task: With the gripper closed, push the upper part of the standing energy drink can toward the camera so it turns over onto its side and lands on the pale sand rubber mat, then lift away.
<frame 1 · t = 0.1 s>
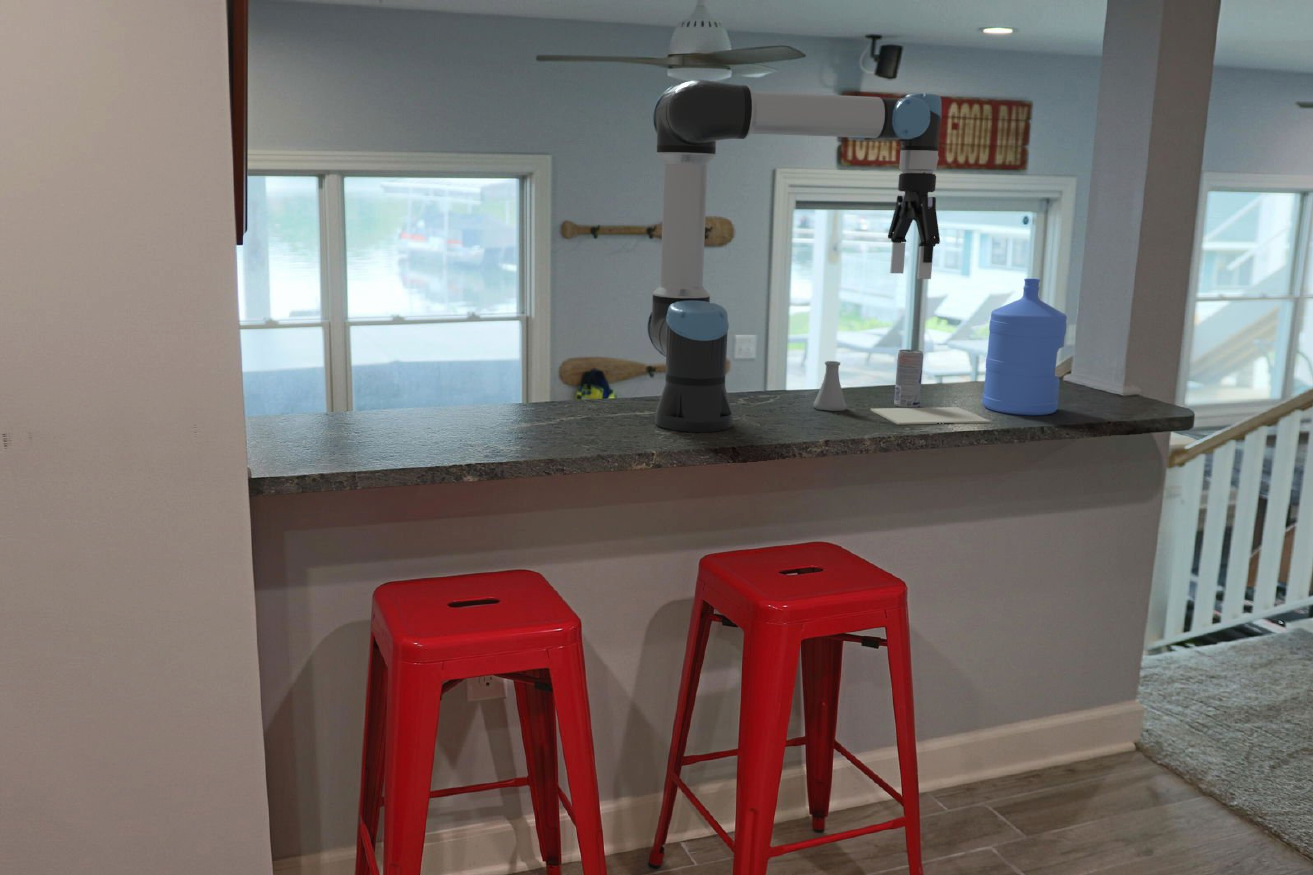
hand: (909, 276, 233), 28 cm above the countertop, fingers open, 13 cm apart
energy drink: (906, 406, 240), on the countertop
flask: (829, 409, 235), on the countertop
mat: (928, 416, 229), on the countertop
water jug: (1018, 409, 240), on the countertop
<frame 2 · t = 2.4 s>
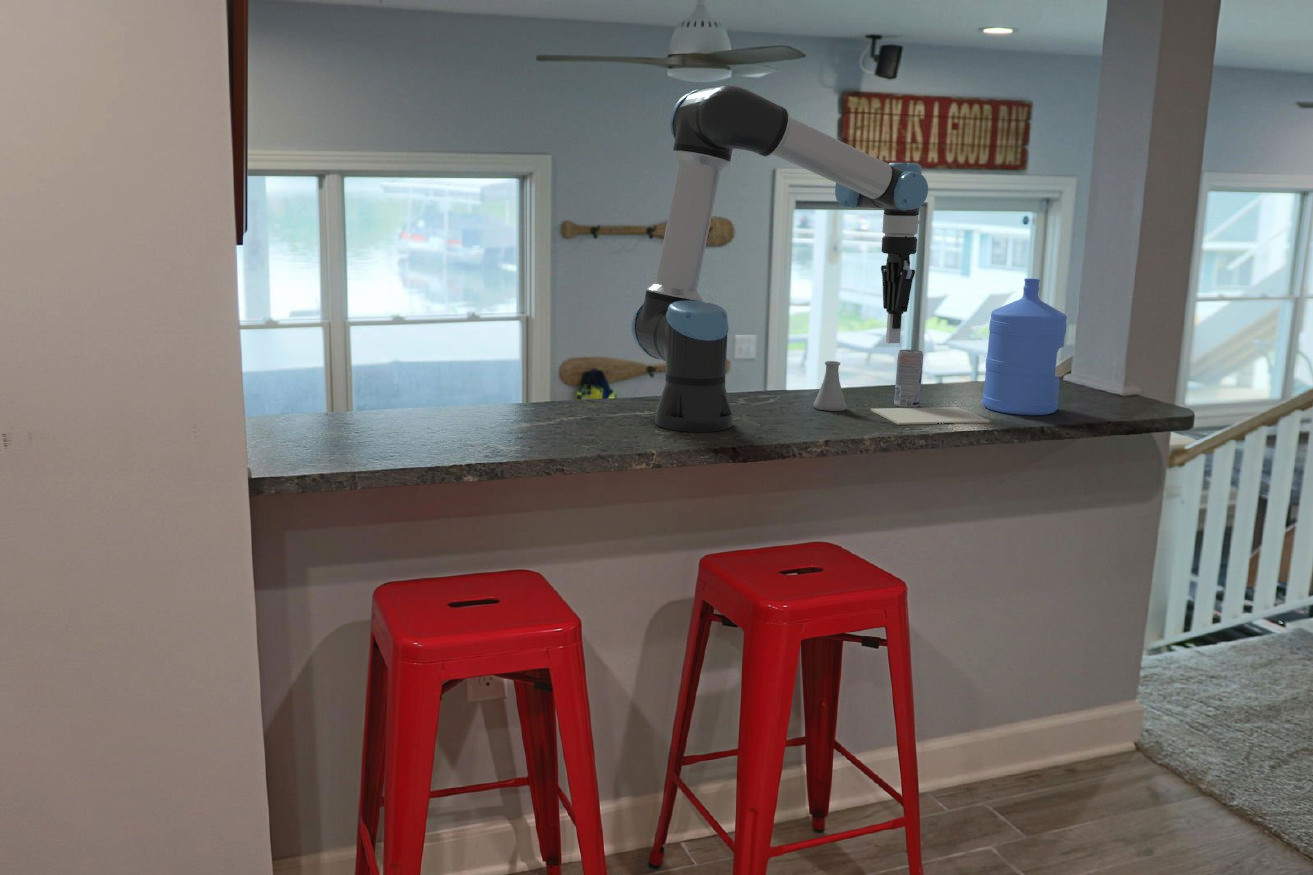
hand: (892, 342, 247), 12 cm above the countertop, fingers closed
nothing on the countertop moved.
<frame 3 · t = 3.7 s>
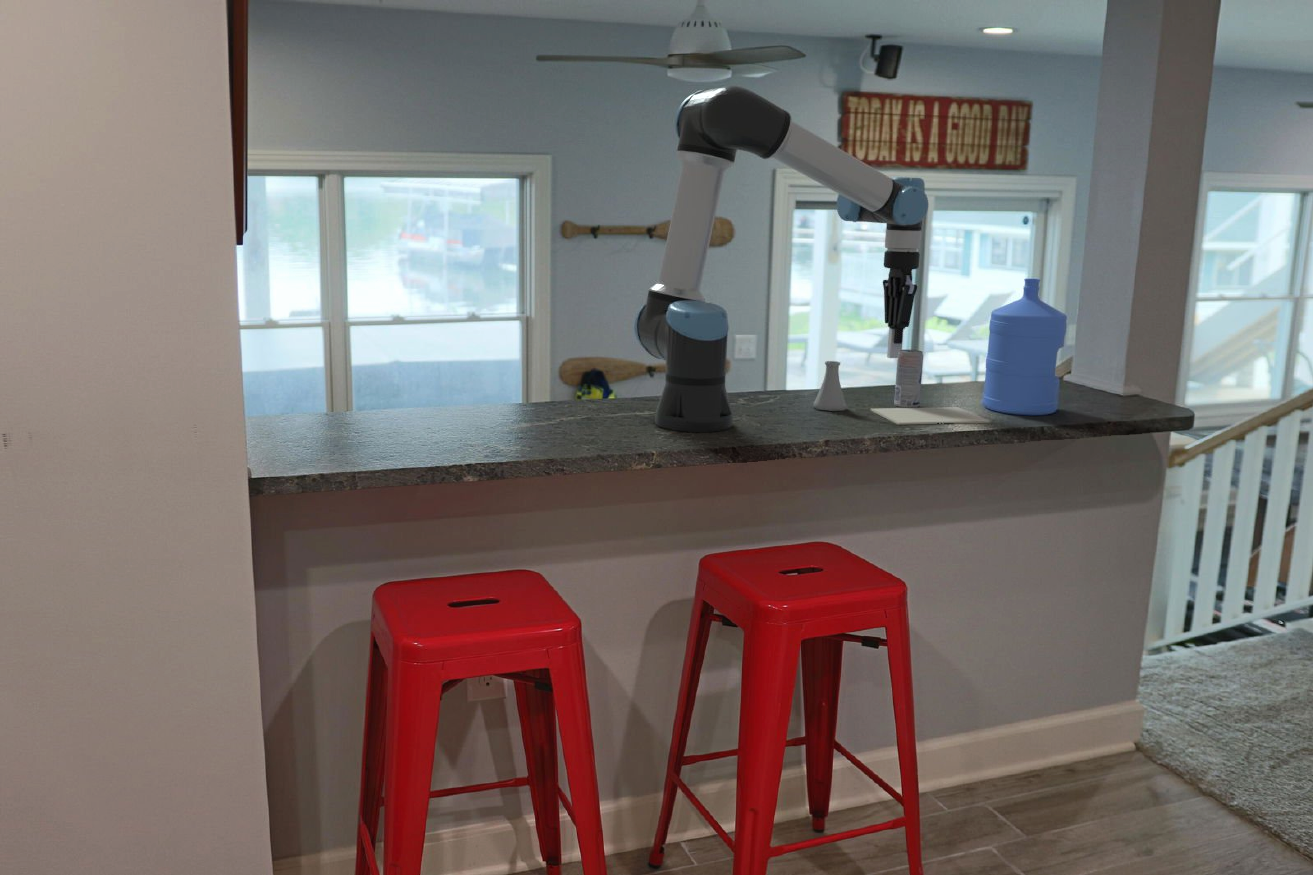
hand: (894, 357, 245), 9 cm above the countertop, fingers closed
nothing on the countertop moved.
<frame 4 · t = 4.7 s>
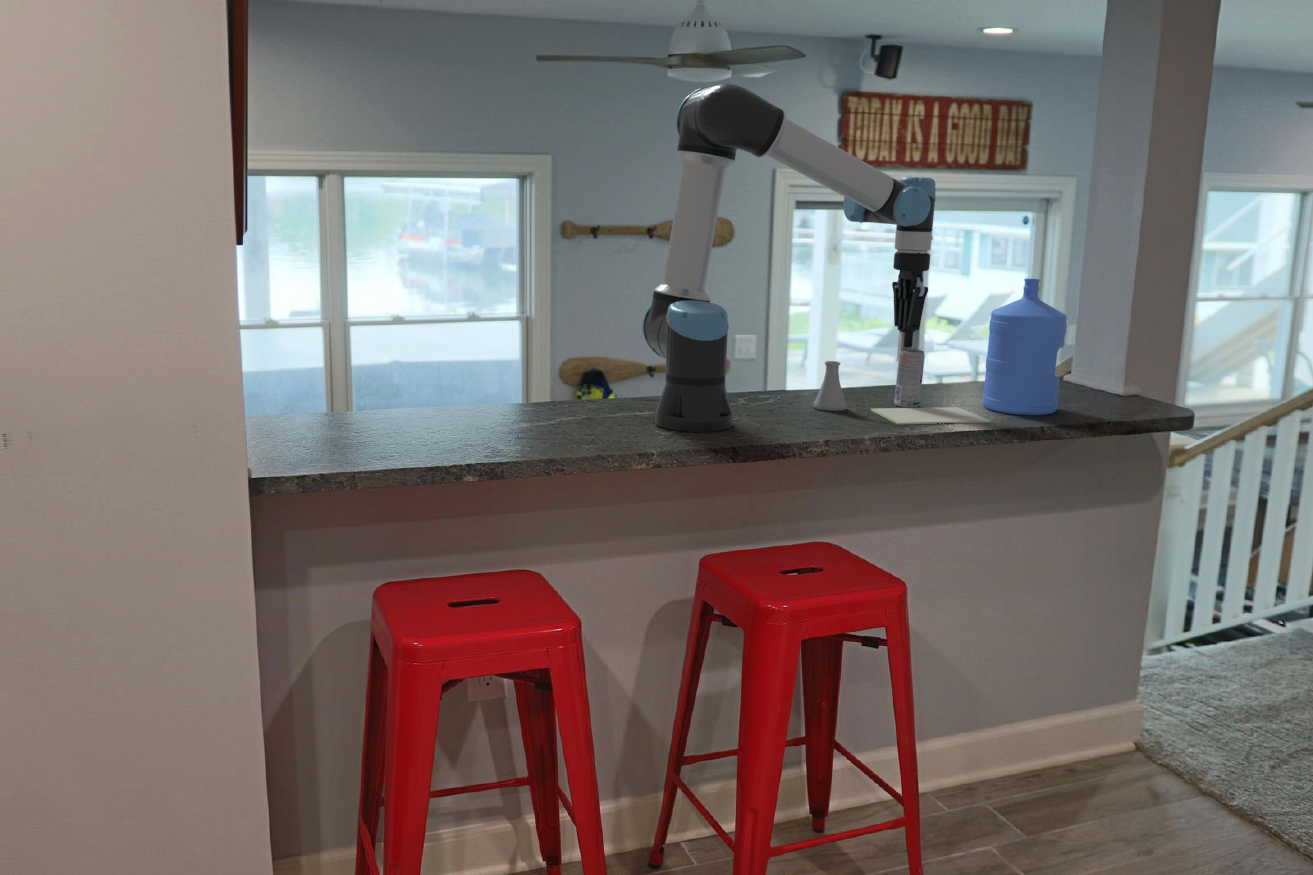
hand: (903, 361, 240), 9 cm above the countertop, fingers closed
energy drink: (906, 406, 240), on the countertop, touching gripper
everything else where it was.
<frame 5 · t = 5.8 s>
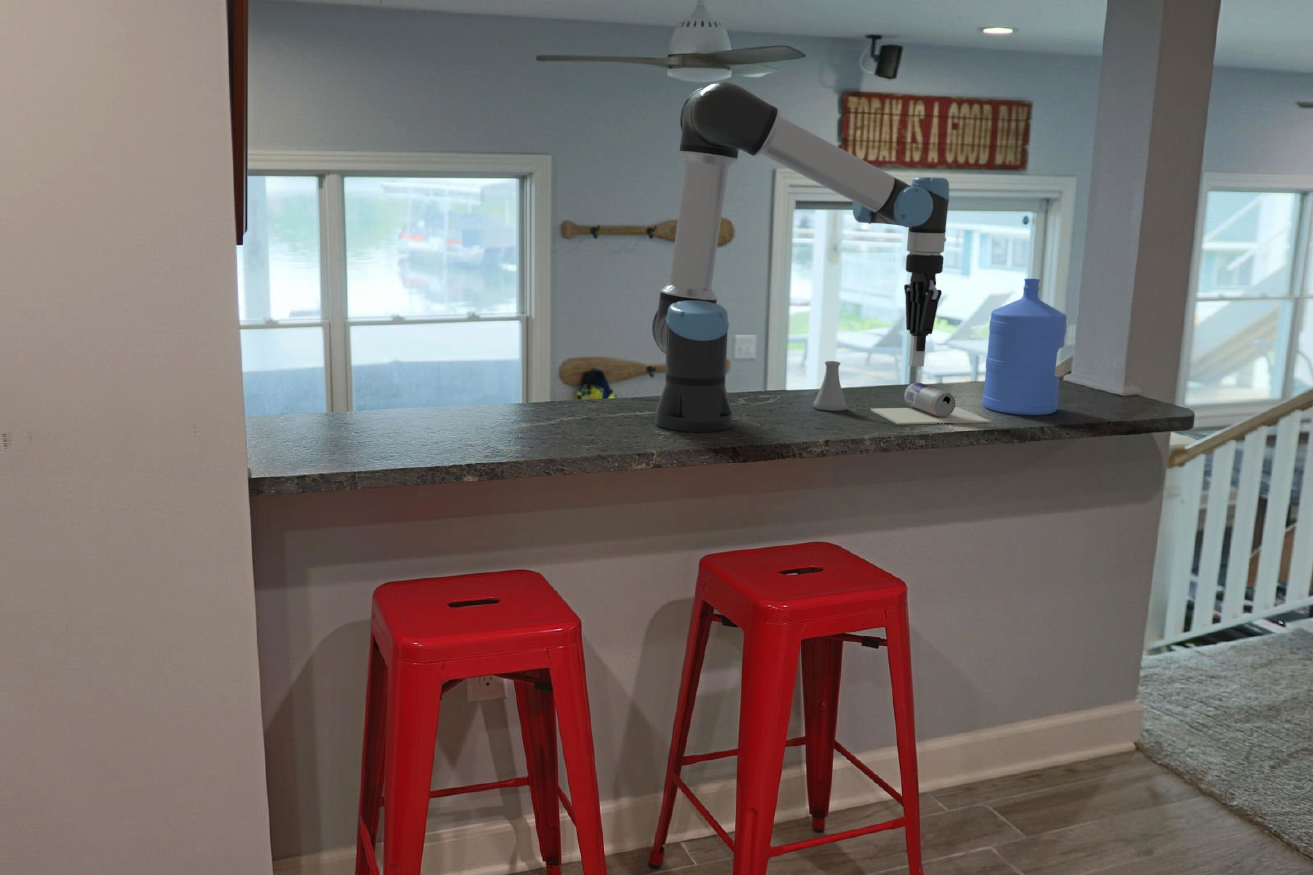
hand: (916, 365, 235), 9 cm above the countertop, fingers closed
energy drink: (913, 394, 237), point 3 cm above the countertop, touching mat
everything else where it was.
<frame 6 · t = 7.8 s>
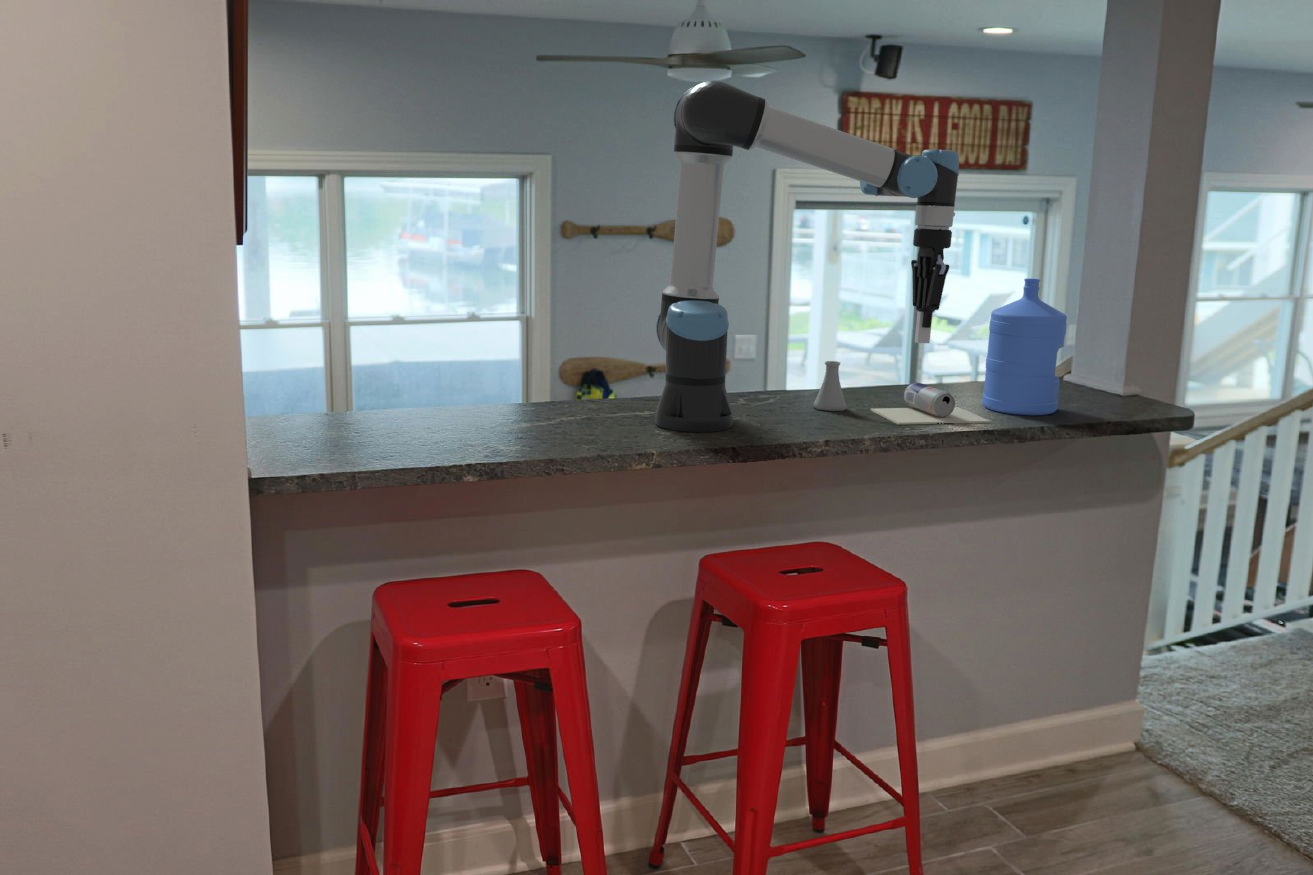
hand: (921, 342, 231), 15 cm above the countertop, fingers closed
nothing on the countertop moved.
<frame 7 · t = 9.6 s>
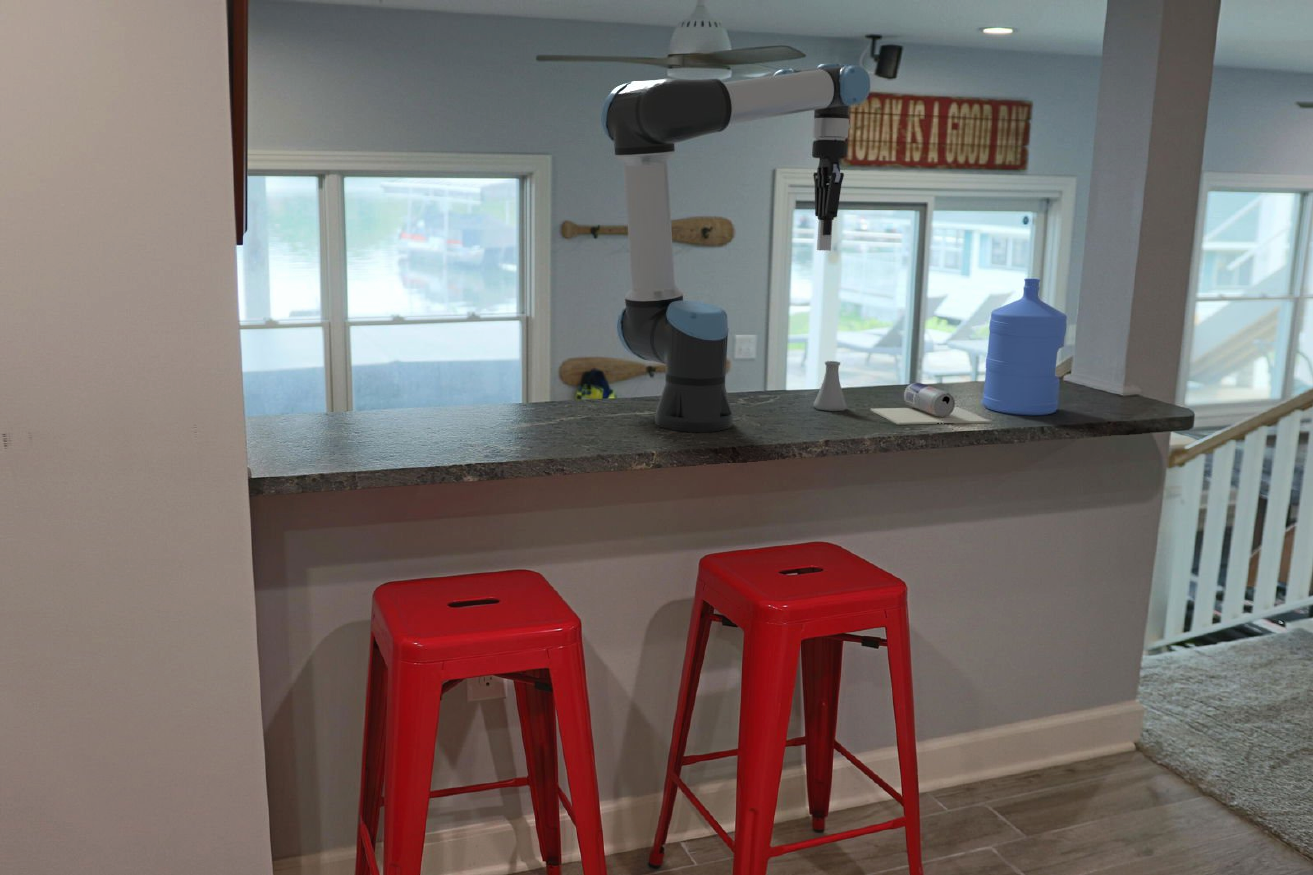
hand: (823, 250, 244), 32 cm above the countertop, fingers closed
nothing on the countertop moved.
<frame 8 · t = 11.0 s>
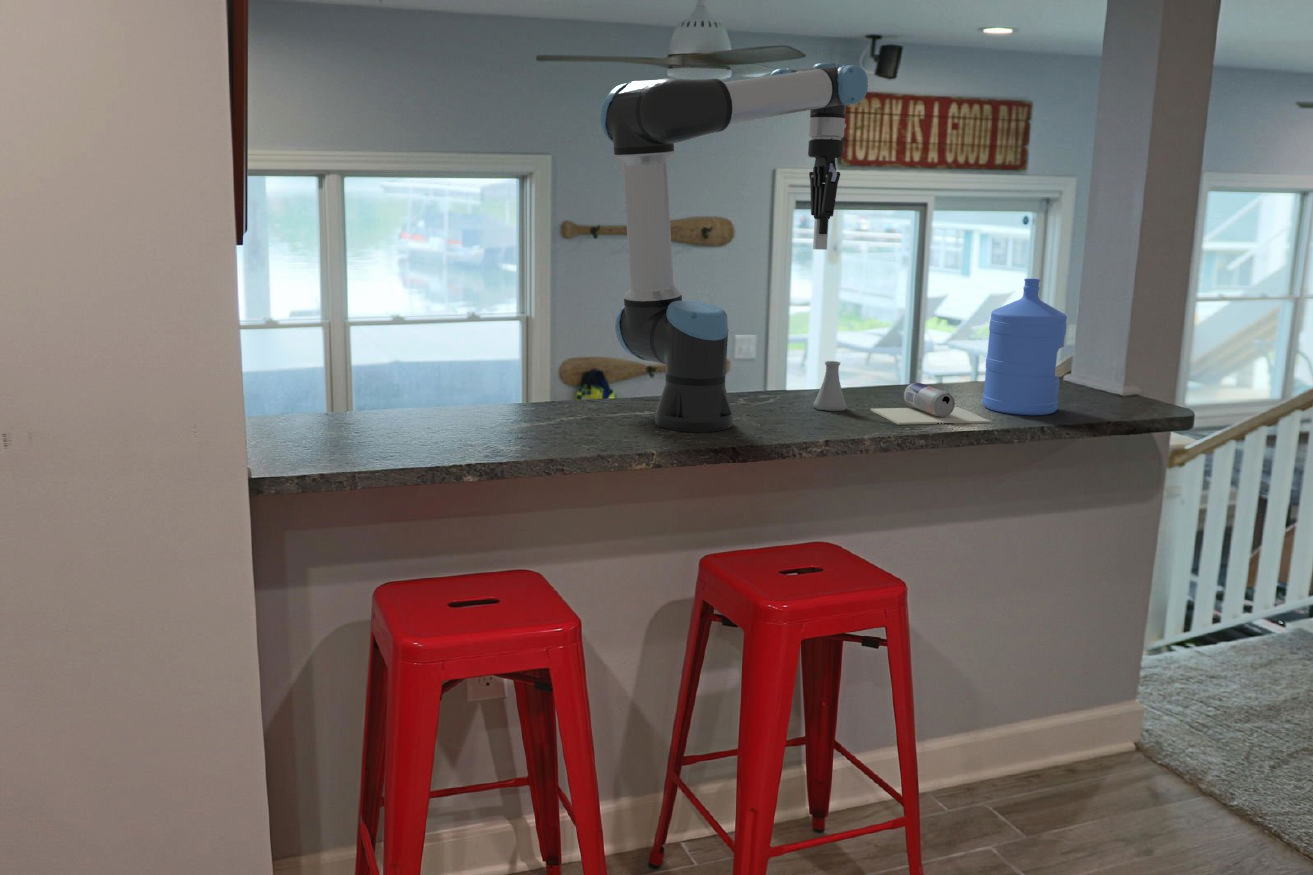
hand: (819, 249, 244), 32 cm above the countertop, fingers closed
nothing on the countertop moved.
at the end: energy drink tilted 90°; energy drink touching mat; energy drink inside the target area (5.6 cm from its centre), point 3.1 cm above the countertop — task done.
